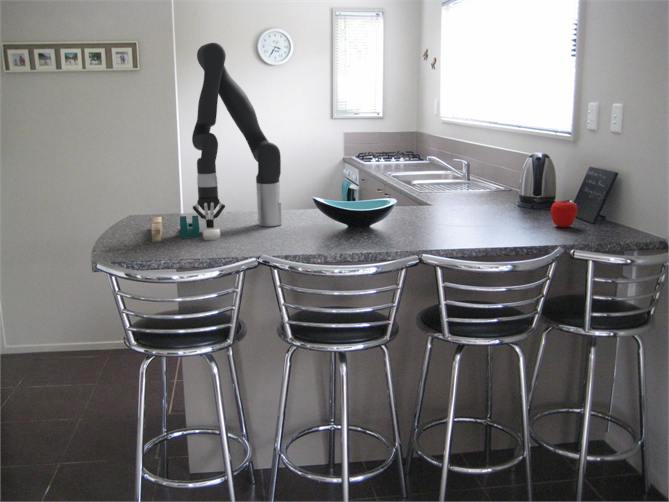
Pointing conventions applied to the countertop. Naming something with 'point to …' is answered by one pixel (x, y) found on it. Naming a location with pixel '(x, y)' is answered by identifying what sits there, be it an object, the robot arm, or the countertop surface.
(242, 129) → the robot arm
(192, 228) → the bracket
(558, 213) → the apple
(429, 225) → the countertop surface
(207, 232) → the rounded smooth part
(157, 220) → the batten
